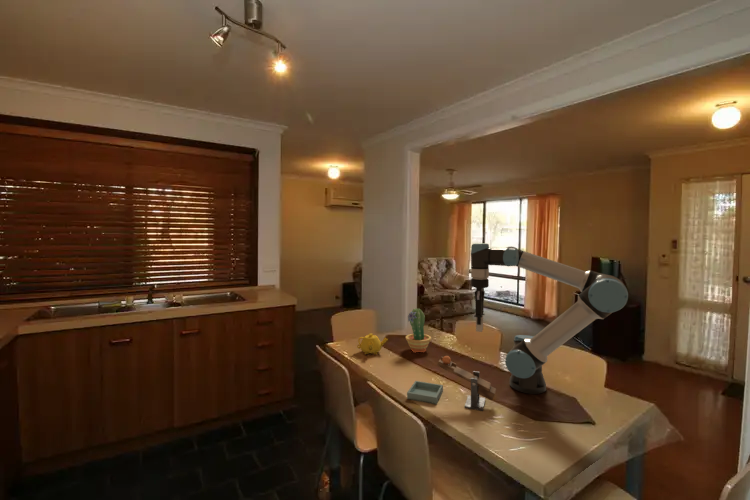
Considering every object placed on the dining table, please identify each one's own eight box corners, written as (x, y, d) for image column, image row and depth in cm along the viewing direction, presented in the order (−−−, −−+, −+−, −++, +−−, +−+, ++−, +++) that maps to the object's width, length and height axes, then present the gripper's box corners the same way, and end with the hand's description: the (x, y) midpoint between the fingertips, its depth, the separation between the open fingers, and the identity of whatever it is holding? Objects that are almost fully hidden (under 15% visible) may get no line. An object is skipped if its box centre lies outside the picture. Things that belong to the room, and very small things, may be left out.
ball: (451, 363, 147) (451, 355, 147) (449, 366, 144) (450, 358, 144) (443, 361, 148) (443, 353, 148) (441, 364, 145) (441, 356, 145)
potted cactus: (403, 346, 215) (403, 306, 213) (427, 345, 216) (427, 305, 215) (408, 355, 199) (408, 312, 198) (434, 354, 201) (434, 311, 200)
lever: (493, 394, 142) (497, 383, 141) (492, 400, 137) (496, 389, 136) (437, 366, 151) (441, 356, 150) (434, 371, 145) (438, 360, 144)
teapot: (370, 358, 195) (370, 339, 194) (354, 352, 204) (354, 334, 204) (388, 352, 205) (388, 333, 204) (372, 347, 214) (372, 329, 214)
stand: (485, 399, 146) (485, 371, 145) (482, 411, 136) (482, 381, 136) (468, 396, 148) (468, 369, 148) (464, 407, 139) (464, 378, 138)
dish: (442, 391, 154) (442, 385, 154) (436, 404, 142) (436, 397, 142) (415, 386, 159) (415, 380, 159) (407, 398, 147) (407, 392, 147)
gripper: (473, 275, 162) (473, 325, 163) (468, 280, 148) (468, 334, 149) (490, 276, 159) (489, 327, 160) (487, 280, 145) (486, 336, 146)
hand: (479, 330), depth 155 cm, fingers open, 2 cm apart
